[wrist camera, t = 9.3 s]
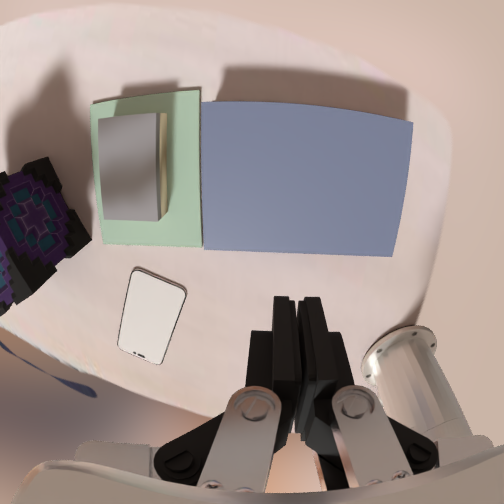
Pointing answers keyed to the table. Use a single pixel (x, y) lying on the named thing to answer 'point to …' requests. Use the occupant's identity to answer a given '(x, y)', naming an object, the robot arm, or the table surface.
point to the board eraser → (133, 166)
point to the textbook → (302, 178)
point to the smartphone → (149, 315)
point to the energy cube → (34, 231)
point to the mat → (178, 171)
